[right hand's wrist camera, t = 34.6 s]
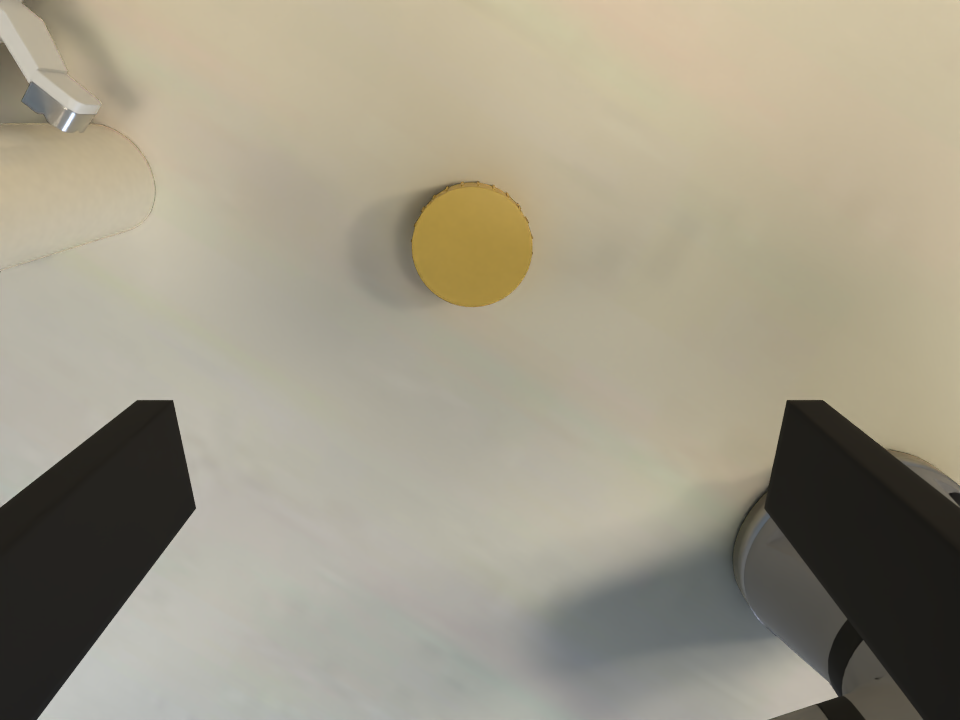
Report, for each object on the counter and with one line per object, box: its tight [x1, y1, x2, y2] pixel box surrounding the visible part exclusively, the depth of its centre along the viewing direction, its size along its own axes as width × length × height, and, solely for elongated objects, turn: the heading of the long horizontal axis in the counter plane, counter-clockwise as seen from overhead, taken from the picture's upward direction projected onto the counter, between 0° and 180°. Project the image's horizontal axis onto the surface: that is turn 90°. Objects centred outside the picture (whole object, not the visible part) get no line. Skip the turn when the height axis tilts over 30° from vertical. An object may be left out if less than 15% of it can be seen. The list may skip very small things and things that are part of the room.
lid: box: [411, 181, 533, 307], centre depth 31 cm, size 6×6×2 cm
